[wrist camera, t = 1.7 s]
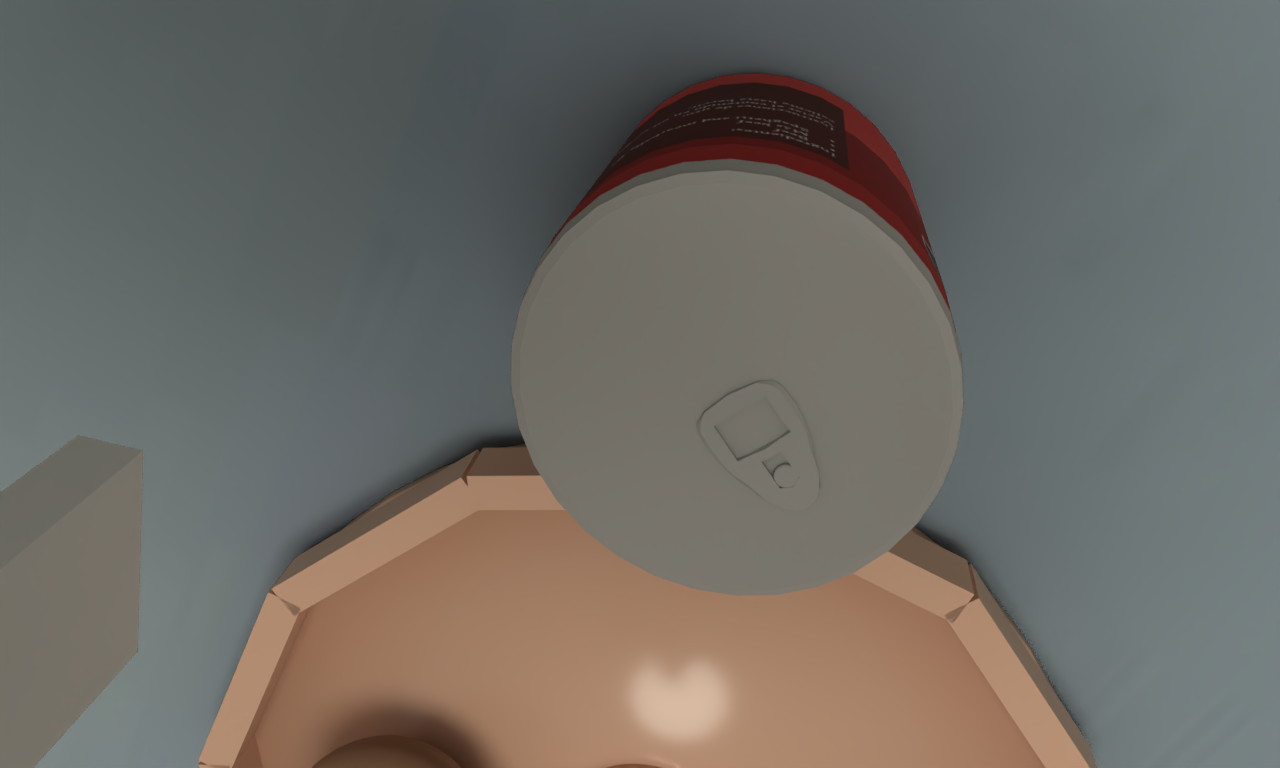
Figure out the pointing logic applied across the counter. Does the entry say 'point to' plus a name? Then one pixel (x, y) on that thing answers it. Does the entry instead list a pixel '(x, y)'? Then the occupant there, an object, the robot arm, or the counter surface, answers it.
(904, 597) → the tray
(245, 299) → the counter surface
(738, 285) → the canned food
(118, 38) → the counter surface
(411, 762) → the seated beads
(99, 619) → the robot arm
